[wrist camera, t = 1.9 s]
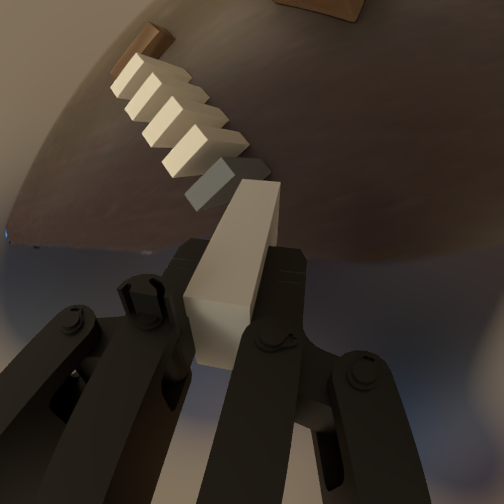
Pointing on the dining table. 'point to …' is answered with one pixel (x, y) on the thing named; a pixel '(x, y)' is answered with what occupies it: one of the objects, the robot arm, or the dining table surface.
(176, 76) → the domino
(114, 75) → the end block
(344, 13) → the wooden block
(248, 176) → the domino
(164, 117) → the domino
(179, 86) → the domino
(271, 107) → the dining table surface
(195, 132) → the domino
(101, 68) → the dining table surface
